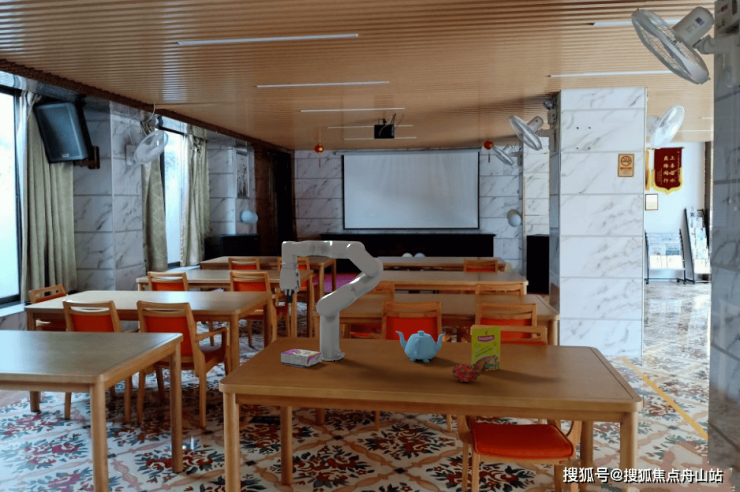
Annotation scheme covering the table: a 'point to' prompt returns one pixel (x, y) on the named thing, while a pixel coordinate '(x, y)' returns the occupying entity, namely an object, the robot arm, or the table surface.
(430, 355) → the teapot
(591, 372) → the table surface
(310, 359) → the candy bar box
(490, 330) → the food package
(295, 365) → the mat
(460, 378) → the dragon fruit
